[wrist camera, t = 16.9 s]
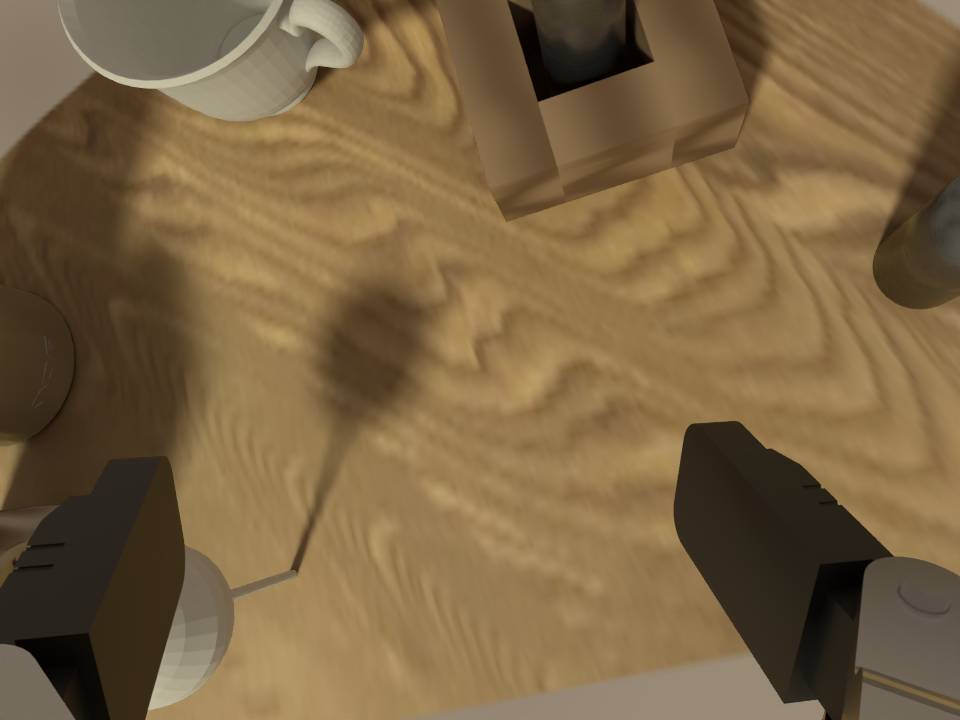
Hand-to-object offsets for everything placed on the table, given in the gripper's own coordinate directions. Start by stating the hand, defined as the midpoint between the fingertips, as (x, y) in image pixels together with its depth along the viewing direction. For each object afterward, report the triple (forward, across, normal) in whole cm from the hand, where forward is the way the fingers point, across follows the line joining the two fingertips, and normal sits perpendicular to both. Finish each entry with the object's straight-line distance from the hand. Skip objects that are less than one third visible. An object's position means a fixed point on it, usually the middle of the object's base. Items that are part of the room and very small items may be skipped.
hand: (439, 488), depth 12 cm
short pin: (+20, -25, +4) cm, 33 cm away
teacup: (+38, +4, -3) cm, 38 cm away
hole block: (+31, -11, -4) cm, 33 cm away
